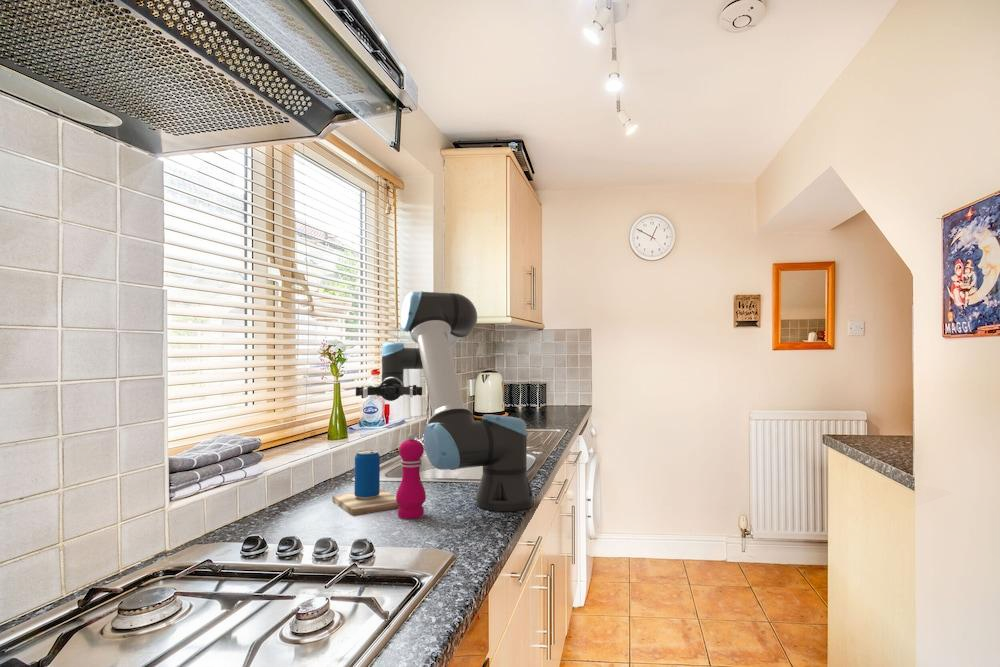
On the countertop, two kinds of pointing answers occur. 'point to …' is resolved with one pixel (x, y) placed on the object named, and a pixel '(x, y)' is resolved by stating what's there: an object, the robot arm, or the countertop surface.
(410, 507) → the pepper mill
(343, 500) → the wooden cutting board
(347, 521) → the countertop surface
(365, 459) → the beverage can
